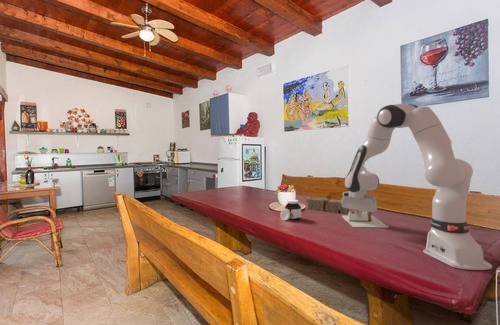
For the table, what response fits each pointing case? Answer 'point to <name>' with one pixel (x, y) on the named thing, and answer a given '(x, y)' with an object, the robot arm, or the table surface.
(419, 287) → the table surface
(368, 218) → the fence fixed
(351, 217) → the fence gate
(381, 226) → the card
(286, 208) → the spread jar
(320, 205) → the grey stone bar
